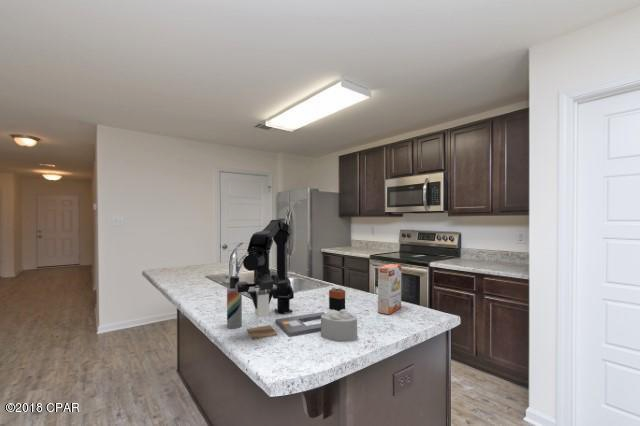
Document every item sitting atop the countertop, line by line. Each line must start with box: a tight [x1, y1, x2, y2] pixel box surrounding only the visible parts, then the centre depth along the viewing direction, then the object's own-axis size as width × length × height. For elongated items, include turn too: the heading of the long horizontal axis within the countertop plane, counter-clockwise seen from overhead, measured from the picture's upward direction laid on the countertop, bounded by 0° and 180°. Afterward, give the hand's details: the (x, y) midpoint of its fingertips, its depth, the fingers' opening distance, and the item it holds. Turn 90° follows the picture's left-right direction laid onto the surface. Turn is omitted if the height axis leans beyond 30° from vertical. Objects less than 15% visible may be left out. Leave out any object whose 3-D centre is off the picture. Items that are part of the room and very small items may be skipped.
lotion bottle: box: [226, 275, 243, 329], centre depth 124 cm, size 6×6×20 cm
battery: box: [328, 287, 346, 311], centre depth 146 cm, size 4×7×10 cm, turn 53°
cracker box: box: [377, 263, 402, 316], centre depth 143 cm, size 14×6×21 cm, turn 143°
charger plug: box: [254, 288, 270, 318], centre depth 116 cm, size 5×4×10 cm
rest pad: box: [246, 324, 278, 340], centre depth 116 cm, size 10×9×1 cm
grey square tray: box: [274, 311, 326, 338], centre depth 124 cm, size 17×22×2 cm
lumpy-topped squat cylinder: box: [320, 308, 358, 342], centre depth 113 cm, size 10×13×9 cm
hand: (261, 307), depth 116 cm, fingers closed on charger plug, 4 cm apart
